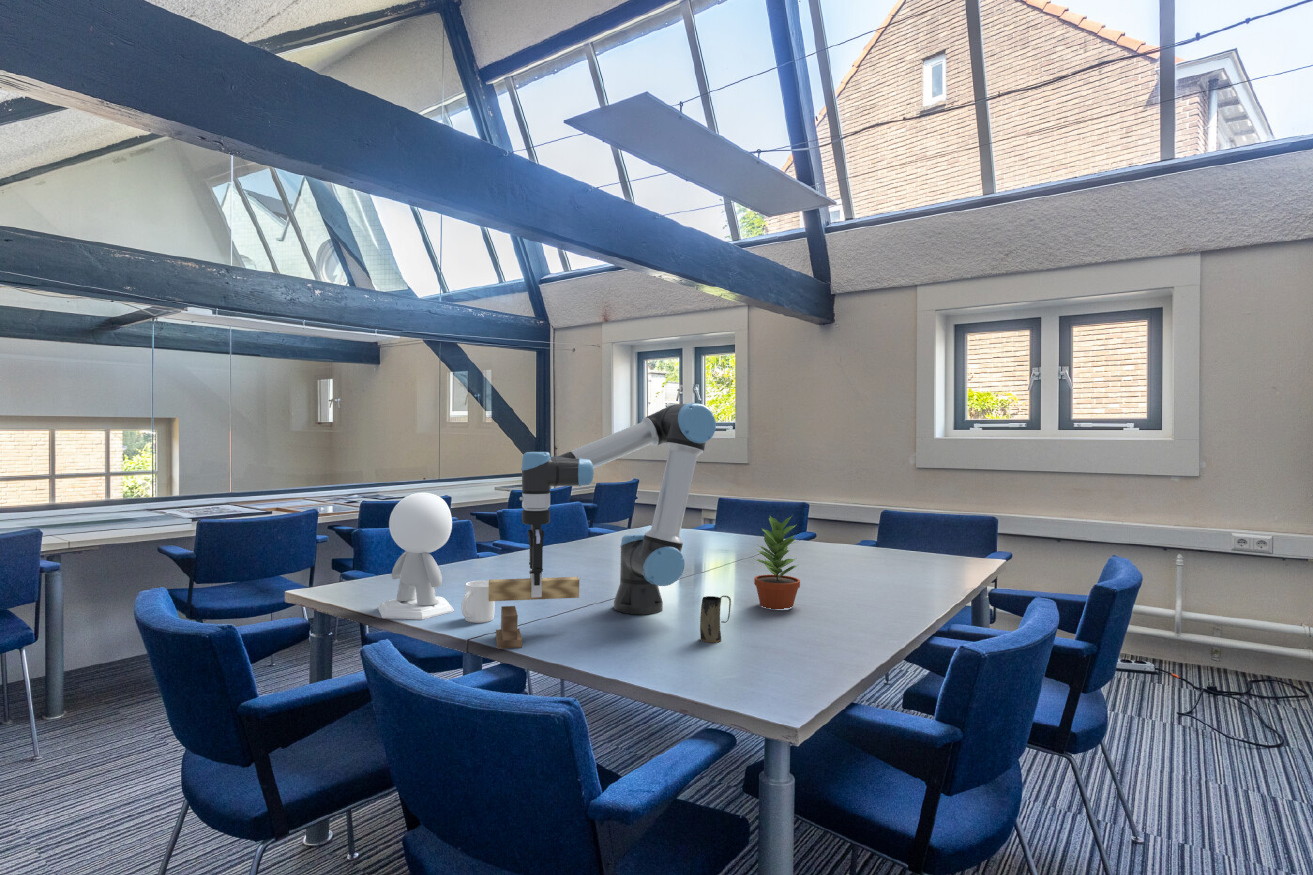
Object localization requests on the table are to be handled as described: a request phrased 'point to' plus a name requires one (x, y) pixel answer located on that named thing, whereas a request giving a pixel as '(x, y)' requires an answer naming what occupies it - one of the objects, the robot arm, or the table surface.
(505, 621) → the fulcrum
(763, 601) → the potted plant
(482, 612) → the mug
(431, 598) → the big headed doll
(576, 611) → the table surface
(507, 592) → the oak bar
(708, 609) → the mug
